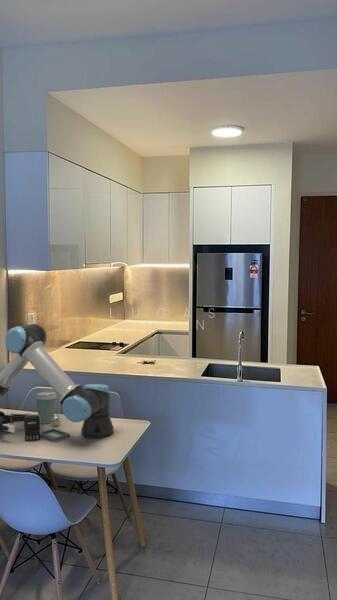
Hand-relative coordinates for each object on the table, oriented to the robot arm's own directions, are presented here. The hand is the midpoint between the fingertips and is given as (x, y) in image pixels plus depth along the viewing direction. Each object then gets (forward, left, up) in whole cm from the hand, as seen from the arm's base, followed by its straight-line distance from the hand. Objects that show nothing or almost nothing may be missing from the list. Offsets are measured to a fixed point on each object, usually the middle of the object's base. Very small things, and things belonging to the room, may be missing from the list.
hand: (25, 425), depth 220 cm
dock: (-8, -10, -6) cm, 14 cm away
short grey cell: (+4, -20, -6) cm, 21 cm away
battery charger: (-4, -1, -6) cm, 8 cm away
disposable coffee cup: (+13, -21, -7) cm, 26 cm away
